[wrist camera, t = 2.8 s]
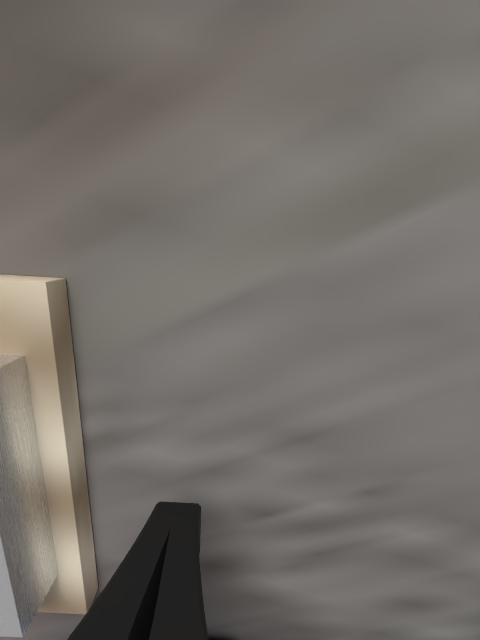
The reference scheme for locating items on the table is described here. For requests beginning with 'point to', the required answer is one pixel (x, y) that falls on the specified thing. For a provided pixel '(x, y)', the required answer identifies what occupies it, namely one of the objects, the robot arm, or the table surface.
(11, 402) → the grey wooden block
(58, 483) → the board
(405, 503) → the table surface
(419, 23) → the table surface
